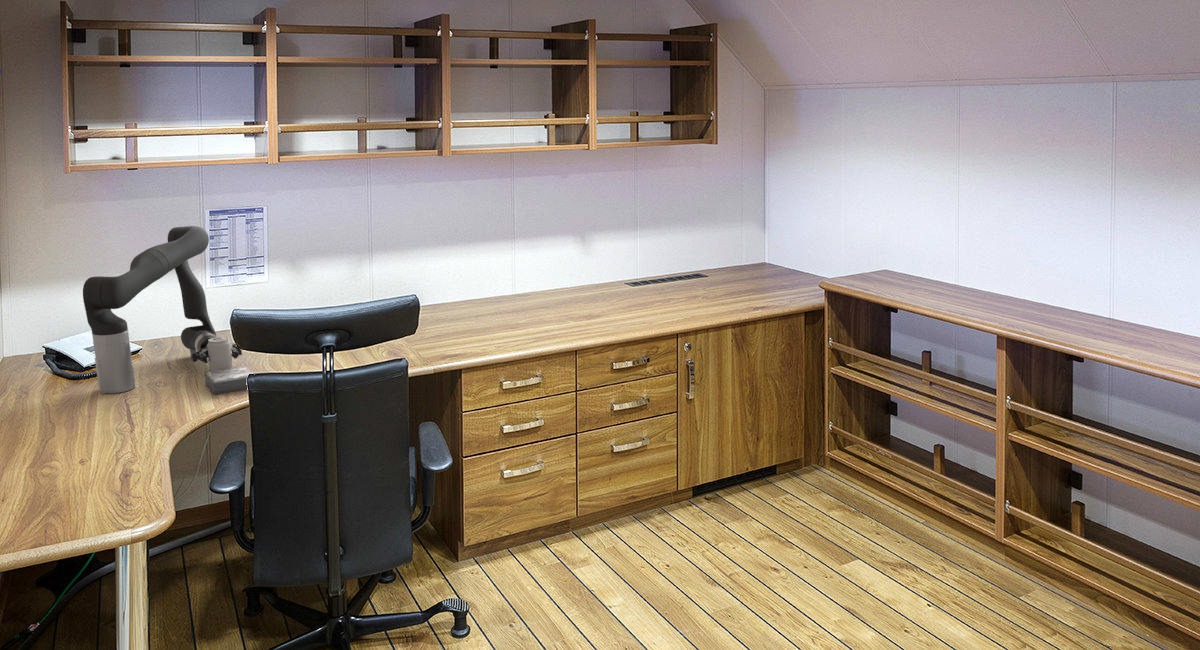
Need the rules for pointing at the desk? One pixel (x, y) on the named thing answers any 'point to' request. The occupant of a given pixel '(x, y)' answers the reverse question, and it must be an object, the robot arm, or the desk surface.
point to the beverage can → (219, 354)
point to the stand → (227, 380)
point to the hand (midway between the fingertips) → (221, 357)
